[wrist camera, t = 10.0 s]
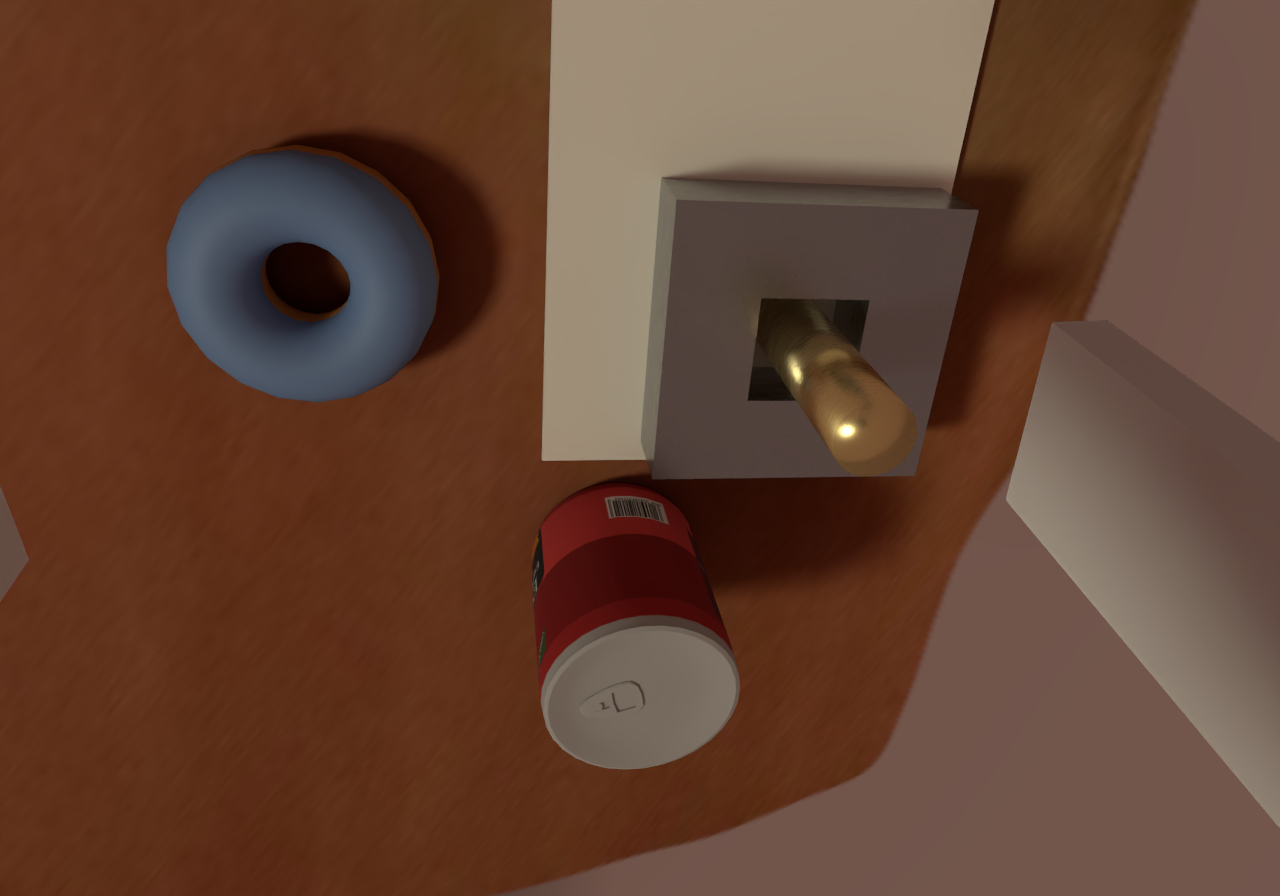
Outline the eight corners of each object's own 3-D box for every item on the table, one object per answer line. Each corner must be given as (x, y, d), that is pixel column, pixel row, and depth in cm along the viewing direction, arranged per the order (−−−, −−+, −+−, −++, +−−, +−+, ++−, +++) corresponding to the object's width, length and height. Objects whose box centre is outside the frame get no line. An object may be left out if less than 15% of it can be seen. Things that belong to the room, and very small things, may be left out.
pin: (755, 286, 41) (841, 398, 31) (822, 288, 41) (926, 399, 32) (746, 351, 42) (825, 476, 33) (810, 352, 43) (906, 476, 33)
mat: (556, -227, 31) (557, -229, 31) (1029, -178, 34) (1034, -179, 34) (541, 456, 44) (542, 460, 43) (889, 453, 46) (891, 457, 46)
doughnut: (150, 334, 38) (127, 380, 34) (210, 92, 35) (191, 112, 31) (393, 401, 42) (396, 448, 38) (468, 189, 39) (480, 218, 35)
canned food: (500, 525, 45) (504, 686, 36) (646, 448, 44) (690, 591, 35) (578, 629, 49) (601, 800, 40) (714, 559, 48) (771, 716, 39)
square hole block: (661, 177, 38) (676, 199, 35) (941, 188, 40) (978, 209, 37) (640, 440, 44) (652, 479, 41) (886, 439, 46) (914, 475, 42)
